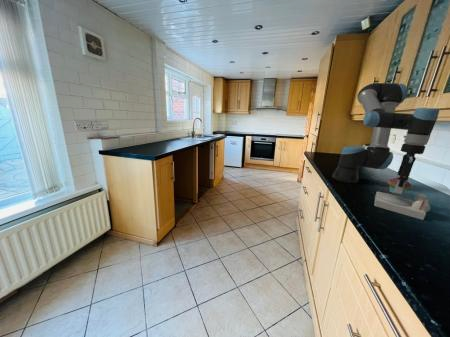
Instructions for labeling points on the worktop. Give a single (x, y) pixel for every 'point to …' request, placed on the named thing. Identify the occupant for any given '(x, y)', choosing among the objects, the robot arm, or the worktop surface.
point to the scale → (403, 204)
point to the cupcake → (393, 183)
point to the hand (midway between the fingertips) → (396, 190)
